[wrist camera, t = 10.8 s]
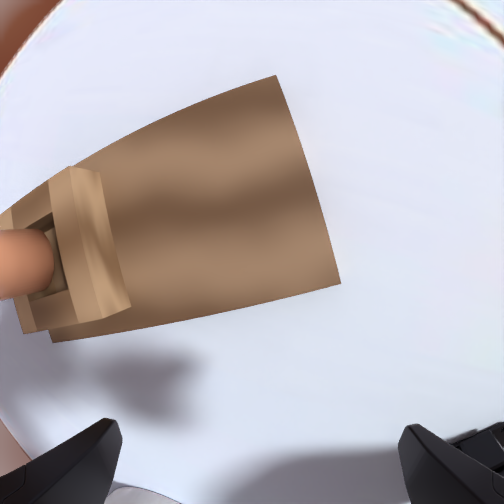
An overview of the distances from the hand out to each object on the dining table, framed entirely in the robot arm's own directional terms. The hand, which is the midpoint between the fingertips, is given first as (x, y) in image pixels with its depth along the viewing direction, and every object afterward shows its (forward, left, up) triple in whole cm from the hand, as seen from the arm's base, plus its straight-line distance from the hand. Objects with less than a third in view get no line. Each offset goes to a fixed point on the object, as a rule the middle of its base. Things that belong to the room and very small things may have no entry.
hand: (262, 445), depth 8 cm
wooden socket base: (+9, +8, -10) cm, 15 cm away
